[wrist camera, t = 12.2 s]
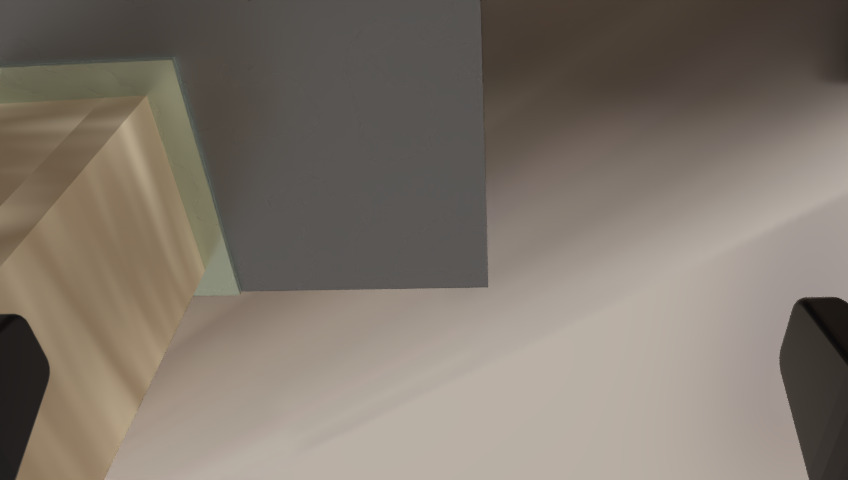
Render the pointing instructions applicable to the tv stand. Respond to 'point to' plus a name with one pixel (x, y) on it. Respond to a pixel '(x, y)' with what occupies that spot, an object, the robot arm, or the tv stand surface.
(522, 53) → the tv stand surface
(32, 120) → the sleeve
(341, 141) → the peg plate
